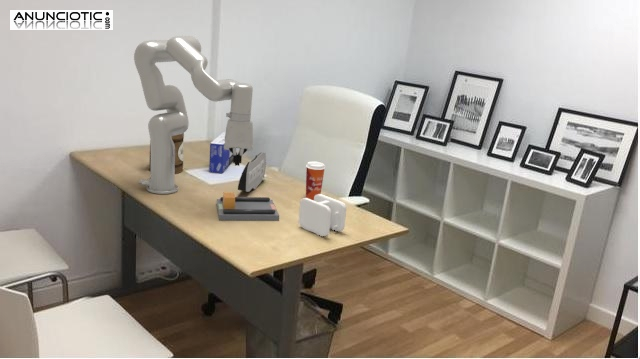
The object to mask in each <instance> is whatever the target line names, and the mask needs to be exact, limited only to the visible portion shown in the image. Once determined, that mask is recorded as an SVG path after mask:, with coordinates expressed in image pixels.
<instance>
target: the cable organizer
mask: <svg viewBox="0 0 640 359" xmlns="http://www.w3.org/2000/svg"><path fill="white" fill-rule="evenodd" d="M346 216H347V204H345V202H344V201H341V200H338V199H335V198H333V197H330V196H327V195H325V194H322V193H321V194H317V195H315V196H314V200H311V199H308V198H306V197H304V198H301V199H300V202H299V214H298V224H299V226H300V227H301V228H303V230H305V231H308V232H312V233H314V234H315V235H316V236H319V235H320V236H319V237H321V236H324V237H326V236H329V234H330V230H331V229H332V230H331V231H334V230H335V231H334V232H336V231H338V232H341V231H343V230H345V226H346Z"/></svg>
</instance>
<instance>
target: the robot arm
mask: <svg viewBox="0 0 640 359" xmlns="http://www.w3.org/2000/svg"><path fill="white" fill-rule="evenodd" d="M201 52H202V45H201V43H200V41H199V40H198V39H197V37H194V36H190V35H188V36H187V35H184V36H183V35H175V36H173V37H170V39H163V40H162V39H159V40H157V39H153V40H152V39H151V40H144V41H142V42H141V43H139V44H138V45H137V46H136V48H135V49H134V52H133V53H134V54H133V60H134V65H135V69H136V71H137V73H138V76H139V80H140V83H141V87H142V91H143V95H144V100H145V103H146V105H147V107H148V109H149V110H151V111H154V112H155V111H164V110H166V112H164V113H158V114H156V115H153V116H151V118H150V119H149V121H148V126H147V129H148V133H149V139H150V140H149V143H150V142H151V171H150V177H149V178H147V179H144V178H143V179H141V178H139V180H138V184H139V185H141V186H146V191H148V192H149V193H151V194H155V195H156V194H158V195H167V194H169V195H170V194H174V193H176V192H178V191H179V186H178V185H177V184H175V181H176V180H175V175H176V174H175V145H174V143H173V140H172V138H171V136H174V135H179V134H182V133H185V132H187V130H188V128H189V125H190V124H189V123H190V122H189V116H188V113H187V112H188V111H187V108H186V104H185V100H184V95H183V94H182V92H181V90H180V89H179V88H178V86H175V85H171V84H167V85H165V81H164V78H163V74H162V72H161V70H160V68H158V66H157V65H156V63H171V62H176V63H178V64H179V65H180V66H181V67H182V68H183V69H184V70H185V71H186V72H188V73H189V75H190V77H191V81H192V84H193V86H194V88H195V89H196V90H197V91H198V92H199V93H201V95H202V96H204V97H205V99H208V100H209V101H210V102H211V101H212V102H216V103H217V102H222V101H230V111H229V112H226V114H225V117H227V118H229V119H227V123H226V127H225V128H226V129H225V131H226V133H225V144H224V149H226V150H230V151H231V152H232V153H233V162H232V163H233V164H234V166H239V167H240V164H242V157H243V155H244V154H245V153H247V152H250V151H251V152H252V151H253V142H254V124H253V121H252V120H251V119H252V118H251V117H252V116H251V115H252V105H253V102H252V101H253V92H254V90H253V85H251V84H249V83H245V82H238V81H237V80H234V79H217V80H215V79H214V78H212V77H211V75H209V74H208V73H207V72H206V71H205V70H206V69H207V67H208V63H209V61H208V59H207V57H206V56H204V54H202V53H201ZM237 149H239V151H238V152H237Z"/></svg>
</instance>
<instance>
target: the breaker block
mask: <svg viewBox="0 0 640 359" xmlns="http://www.w3.org/2000/svg"><path fill="white" fill-rule="evenodd" d="M216 208H217V214H218V220H219V221H258V222H259V221H262V222H263V221H268V222H269V221H271V222H273V221H280V214H279V212H278V210H277V209H278V208H277V207H276V206H275V203H274V201H273V199H271V198H270V197H268V196H267V197H263V196H262V197H260V196H259V197H258V196H257V197H256V196H235V209H224V207H223V196H220V197H219V198H216Z"/></svg>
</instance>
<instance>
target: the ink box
mask: <svg viewBox="0 0 640 359" xmlns="http://www.w3.org/2000/svg"><path fill="white" fill-rule="evenodd" d="M225 133H226V130H224V131H223V132H221V133H220V134H219V135H218V136H217V137H216V138H214V139H213V140H212V141H211V142H210V143H209V164H208V165H209V166H208V172H209V173H215V174H223V173H224V172H225V171H226V170H227V168H228V167H229V166H230V165H231V164H232V163H233V153H232V152H231V151H230V150H226V149H224V144H225Z"/></svg>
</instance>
